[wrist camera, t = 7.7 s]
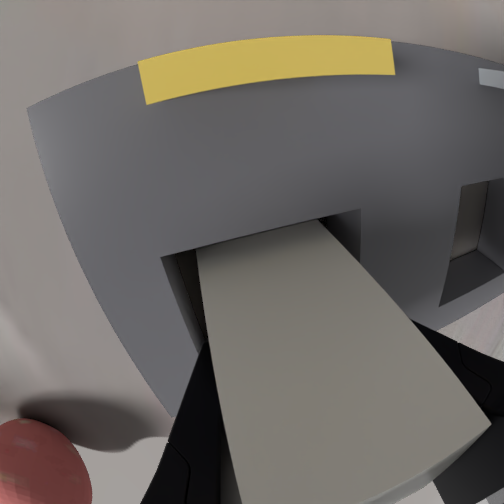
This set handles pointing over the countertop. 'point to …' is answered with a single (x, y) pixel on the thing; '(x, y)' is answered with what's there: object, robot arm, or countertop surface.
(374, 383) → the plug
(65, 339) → the countertop surface
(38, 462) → the apple
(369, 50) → the socket plate
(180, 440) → the robot arm
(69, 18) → the countertop surface
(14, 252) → the countertop surface
